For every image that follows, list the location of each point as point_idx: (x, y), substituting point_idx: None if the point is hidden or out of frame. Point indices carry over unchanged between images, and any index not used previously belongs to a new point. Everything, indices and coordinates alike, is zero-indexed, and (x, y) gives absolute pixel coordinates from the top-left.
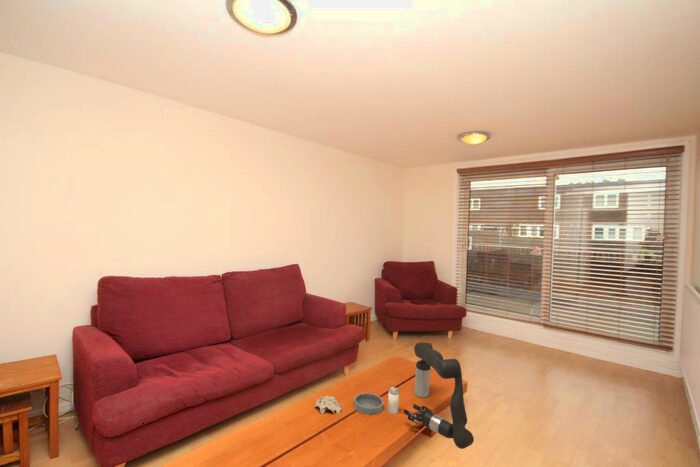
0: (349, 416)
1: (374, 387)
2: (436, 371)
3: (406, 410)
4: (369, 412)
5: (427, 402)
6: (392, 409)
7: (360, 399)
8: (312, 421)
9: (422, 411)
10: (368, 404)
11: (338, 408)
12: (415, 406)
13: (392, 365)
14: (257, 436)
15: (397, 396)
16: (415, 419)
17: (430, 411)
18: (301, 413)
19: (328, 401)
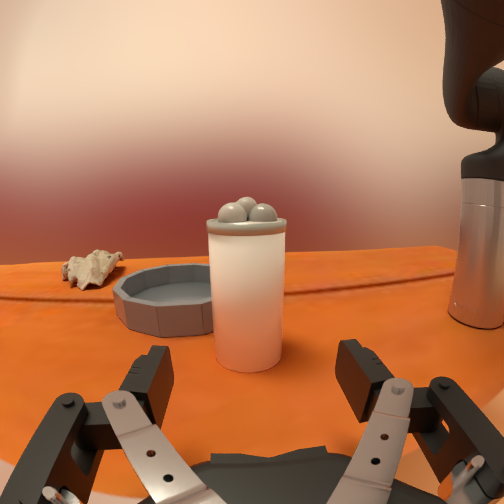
0: (78, 304)
1: (306, 273)
2: None
3: (146, 362)
4: (123, 314)
5: (492, 351)
6: (218, 340)
7: (193, 282)
8: (27, 282)
9: (332, 494)
10: (185, 298)
11: (87, 277)
12: (349, 366)
13: (419, 252)
14: None
15: (243, 255)
16: (13, 497)
17: (501, 489)
18: (50, 270)
19: (90, 256)
